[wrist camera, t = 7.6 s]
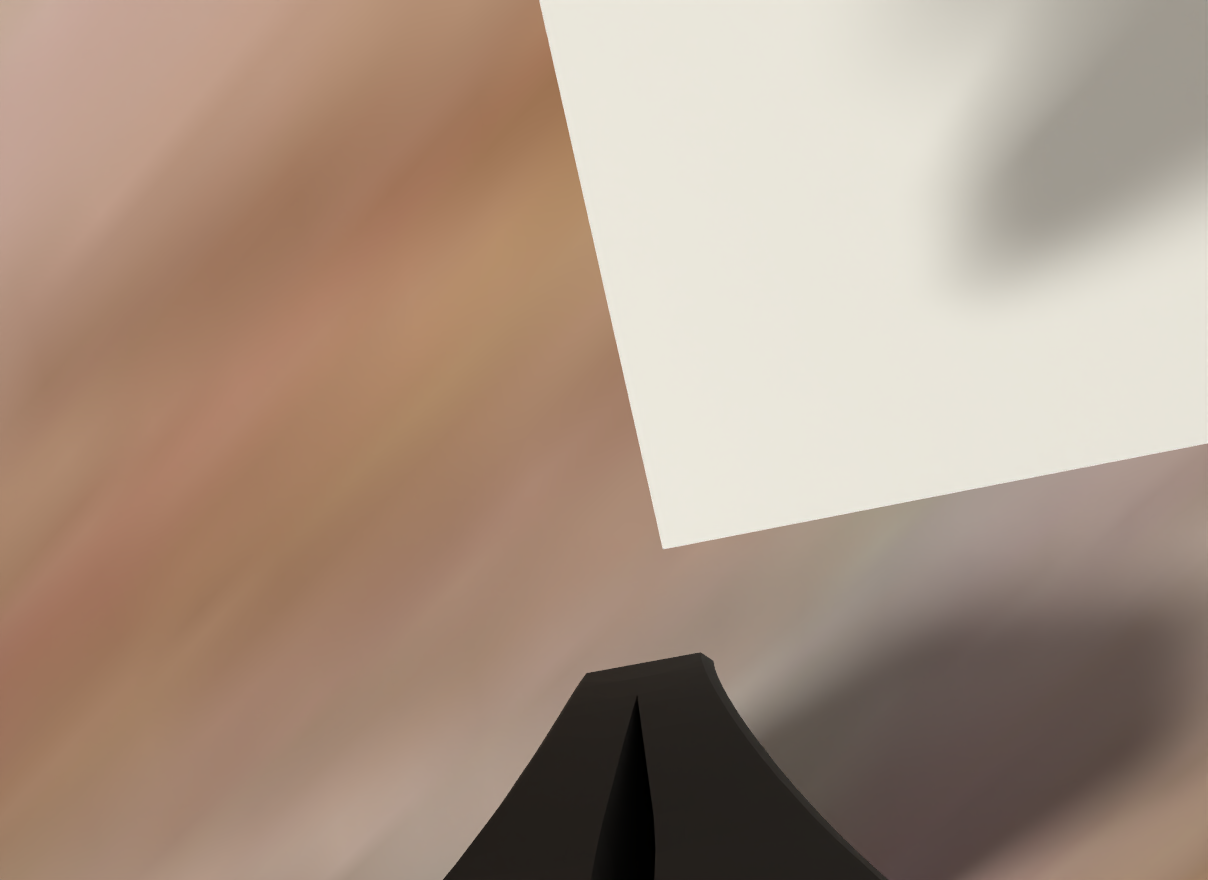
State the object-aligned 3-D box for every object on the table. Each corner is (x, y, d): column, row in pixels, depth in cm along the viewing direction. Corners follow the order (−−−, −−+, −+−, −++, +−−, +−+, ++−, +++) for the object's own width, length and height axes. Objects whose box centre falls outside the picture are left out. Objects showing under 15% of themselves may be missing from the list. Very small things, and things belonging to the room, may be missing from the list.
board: (1245, -486, 14) (1342, -590, 12) (1267, 389, 18) (1344, 416, 16) (486, -268, 15) (464, -332, 13) (660, 510, 19) (663, 549, 17)
